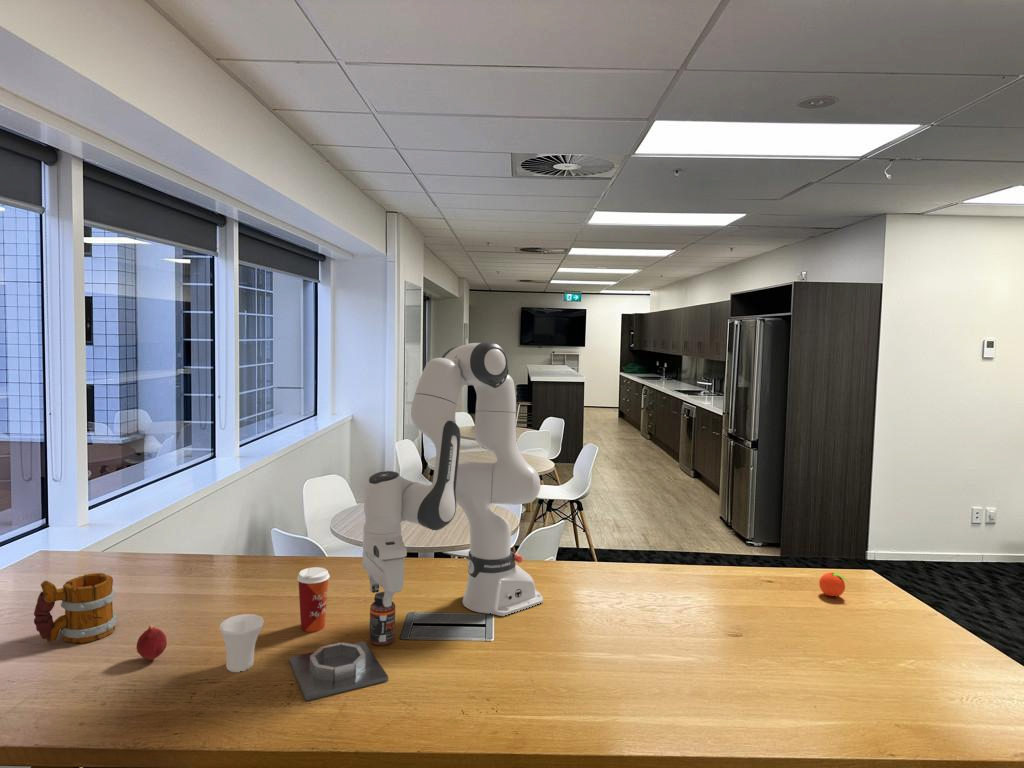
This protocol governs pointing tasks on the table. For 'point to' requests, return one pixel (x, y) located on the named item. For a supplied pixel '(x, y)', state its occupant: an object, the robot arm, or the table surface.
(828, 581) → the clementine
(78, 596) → the mug
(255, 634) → the cup
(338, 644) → the ring collar
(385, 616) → the supplement bottle
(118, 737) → the table surface
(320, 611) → the paper cup
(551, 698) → the table surface
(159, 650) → the onion
